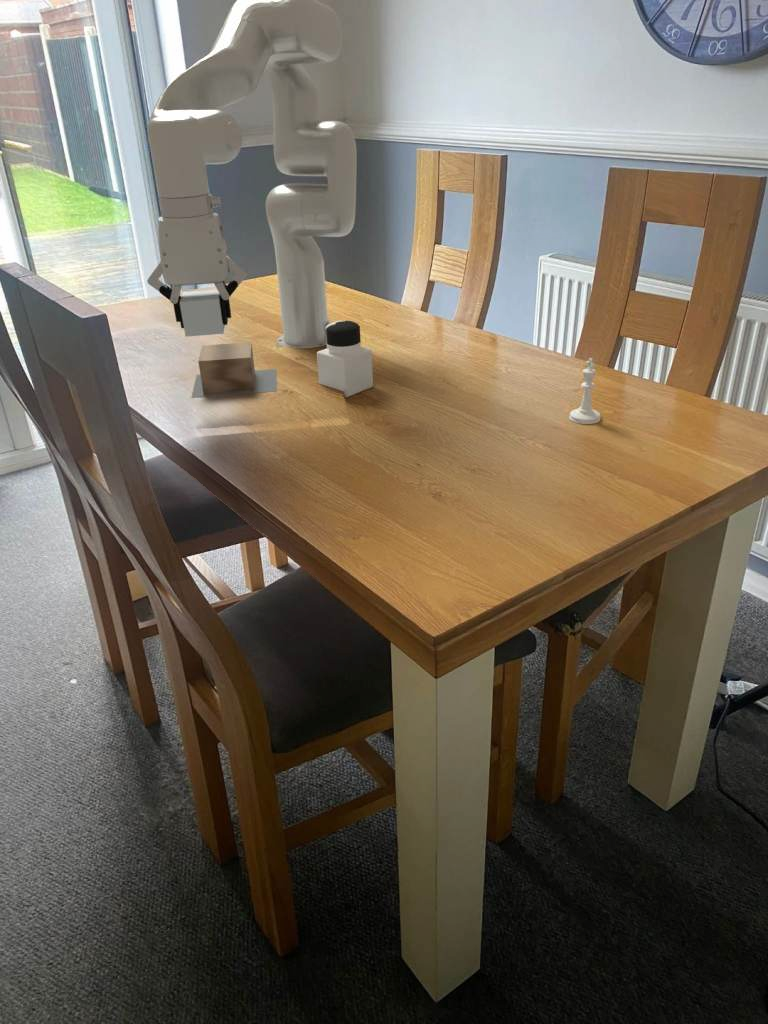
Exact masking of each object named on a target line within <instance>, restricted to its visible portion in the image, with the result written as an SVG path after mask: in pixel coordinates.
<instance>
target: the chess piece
mask: <svg viewBox="0 0 768 1024" xmlns="http://www.w3.org/2000/svg"><path fill="white" fill-rule="evenodd" d="M593 360H594V359H593V358H591V357H590V358H588V360H586V361H585V365H586V366H587V368H585V369H583V370H582V375H583V379H584V382H582V383H581V385H580V386H581V388H583V389H584V390H583V395H582V400H581V404H580V406H579V407H578V408H576V409H573V410H571V411H570V413H569V416H568V417H569V420H570V421H572V422H573V423H576V424H582V425H592V424H593V425H594V424H596V423H598V422H600V421H601V414H600V412H599V411H598V410H595V409H594V408H593V407H592V394H591V393H592V390H591V389H594V388H595V383H593V380H594V377H595V376H596V372H597V371H596V370H595V369H594V368H595V366H596V363H594V362H593Z"/></svg>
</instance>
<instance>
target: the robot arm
mask: <svg viewBox="0 0 768 1024" xmlns="http://www.w3.org/2000/svg"><path fill="white" fill-rule="evenodd" d="M342 27H343V26H342V24H341V21H340V19H339V17H338V15H337V13H336V11H334V9H333V8H331V7H330V6H329V5H327V4H326V3H325V4H324V3H323V2H320V1H318V0H236V1H235V2H234V3H233V5H232V6H231V7H230V10H229V12H228V14H227V16H226V18H225V20H224V22H223V25H222V27H220V31H219V33H218V34H217V37H216V39H215V41H214V42H213V45H212V48H211V50H210V52H209V53H208V54H207V55H206V56H204V57H203V58H201V59H198V60H197V62H195V63H194V64H192V65H191V66H190V67H188V68H187V69H185V70H184V71H183V72H181V74H179V75H178V76H175V77H174V79H172V80H171V81H170V83H168V84H167V85H166V87H165V88H164V89H163V91H162V92H161V94H160V95H159V97H158V99H157V101H156V103H155V106H154V108H153V110H152V112H151V115H150V118H149V121H148V122H147V127H146V129H147V130H146V131H147V141H148V145H149V149H150V155H151V161H152V166H153V172H154V179H155V184H156V190H157V194H158V196H157V197H158V202H159V206H160V212H161V216H159V217H158V220H157V221H158V222H157V223H158V225H157V230H158V231H157V232H158V233H157V234H158V235H157V236H158V246H159V256H160V262H159V263H158V264H157V266H156V267H155V269H154V270H153V271H152V272H151V274H150V275H149V277H148V278H147V284H148V285H149V286H151V287H152V288H153V289H155V290H156V291H158V292H159V293H160V294H161V295H162V296H163V297H165V298H166V299H167V300H169V301H170V303H171V304H172V305H173V311H174V317H175V320H176V323H180V329H184V325H183V319H182V313H181V308H180V300H181V297H182V295H181V293H182V292H181V291H182V286H183V287H184V286H196V285H210V284H211V285H212V284H214V286H215V288H216V290H218V292H219V293H220V307H221V314H222V321H223V324H224V325H225V326H228V323H229V322H228V321H229V319H231V318H232V312H231V311H232V310H231V304H230V297H231V296H232V294H234V292H235V291H236V290H237V288H238V287H239V286H240V284H242V282H243V281H244V280H245V278H247V273H248V272H247V270H245V269H244V268H243V267H242V266H240V264H238V263H237V262H236V261H235V260H234V259H232V258H231V257H230V256H229V255H228V249H227V245H226V238H225V235H224V230H223V226H222V222H221V219H220V217H219V214H218V213H217V212H213V210H214V209H215V208H217V207H222V203H221V197H220V196H217V197H216V196H213V194H211V191H210V188H209V187H210V186H209V179H208V173H207V165H223V164H224V165H225V164H228V163H230V162H231V161H233V160H235V159H236V158H237V156H238V155H239V153H240V152H241V150H242V145H243V133H242V129H241V126H240V124H239V122H238V121H237V119H236V118H235V117H234V116H233V115H232V114H230V113H228V112H226V111H223V110H220V109H222V108H225V107H227V106H230V105H232V104H235V103H238V102H240V101H242V100H243V99H244V100H245V98H248V97H249V96H251V95H252V94H253V93H254V92H255V90H256V89H257V88H258V85H259V83H260V80H261V77H262V75H263V73H264V74H265V77H266V79H267V80H268V84H269V86H270V89H271V94H272V108H273V111H272V112H273V113H272V114H273V115H272V116H273V118H272V121H273V125H272V126H273V128H272V129H273V130H272V131H273V133H272V134H273V157H274V163H275V166H276V168H277V170H278V171H279V172H280V173H281V174H284V175H287V176H295V177H296V176H297V177H326V178H327V183H302V182H301V183H284V184H280V185H277V186H275V187H274V188H272V189H271V190H270V191H269V193H268V195H267V196H266V199H265V213H266V219H267V222H268V225H269V231H270V232H271V237H272V241H273V246H274V252H275V253H274V255H275V262H276V275H277V285H278V294H279V304H280V313H281V326H282V333H283V334H282V335H280V336H279V337H278V338H277V339H276V346H277V347H279V348H281V347H286V348H291V349H310V348H311V349H312V348H318V347H323V346H327V342H326V327H327V325H329V324H330V323H331V322H330V318H329V317H328V305H327V291H326V277H325V275H326V274H325V261H324V260H325V259H324V256H323V253H322V251H321V249H320V247H319V246H318V243H317V242H316V241H315V240H314V237H328V238H337V237H338V238H339V237H340V238H341V237H345V236H347V235H349V234H350V233H351V232H352V230H353V228H354V225H355V220H356V212H357V211H356V207H357V167H358V166H357V165H358V157H357V155H358V154H357V153H358V151H357V143H356V138H355V135H354V132H353V131H352V129H351V127H350V126H349V125H348V124H347V123H345V122H343V121H338V120H320V117H319V93H318V90H317V87H316V85H315V83H314V81H313V80H312V78H311V77H310V75H309V74H308V72H307V71H306V70H305V68H304V67H303V66H302V65H307V64H326V63H327V64H328V63H331V62H333V61H335V60H336V59H337V57H338V56H339V55H340V53H341V50H342V48H343V47H342V46H343V43H344V42H343V41H344V40H343V39H344V37H343V36H344V35H343V34H344V33H343V28H342ZM230 271H231V272H232V273H234V277H233V278H232V279H231V280H230V281H229V283H226V280H227V279H228V278H229V274H230ZM162 276H163V281H164V282H165V283H163V282H162V281H161V280H160V278H161V277H162ZM168 285H169V286H168ZM170 286H172V288H171V287H170Z"/></svg>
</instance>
